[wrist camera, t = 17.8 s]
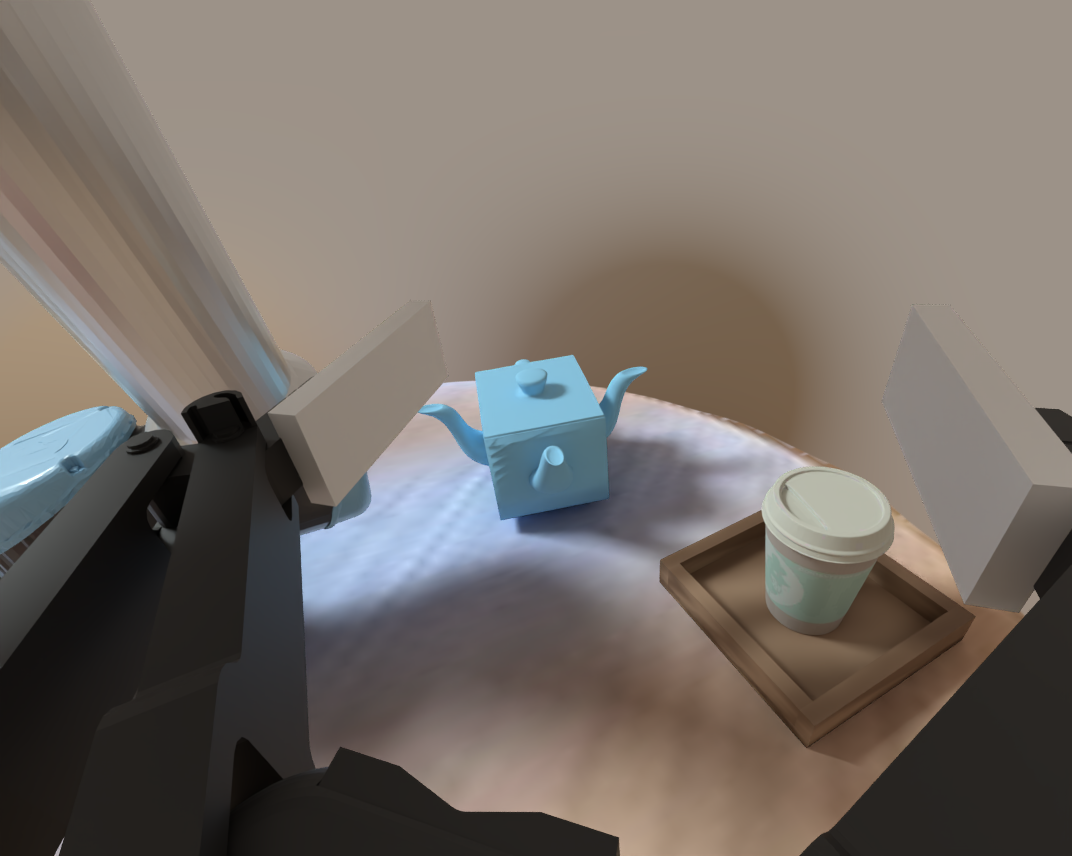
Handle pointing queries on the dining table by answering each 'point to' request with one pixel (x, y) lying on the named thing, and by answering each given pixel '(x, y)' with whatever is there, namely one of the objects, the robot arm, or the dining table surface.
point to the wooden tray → (811, 660)
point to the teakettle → (540, 433)
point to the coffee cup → (821, 545)
